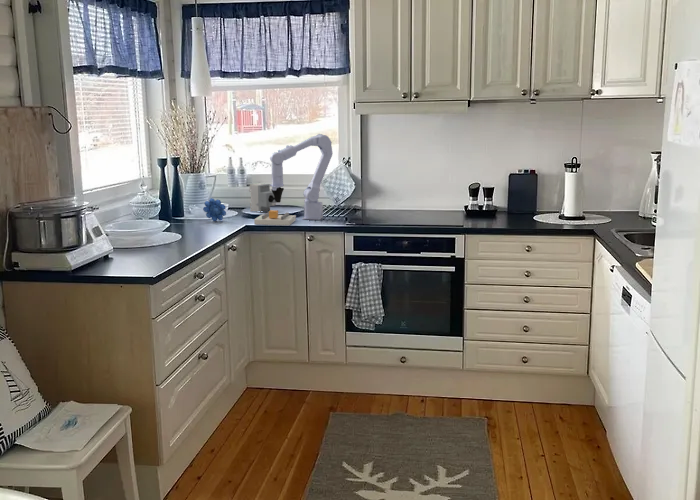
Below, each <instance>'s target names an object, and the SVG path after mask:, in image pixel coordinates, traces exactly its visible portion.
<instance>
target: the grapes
mask: <svg viewBox="0 0 700 500" xmlns="http://www.w3.org/2000/svg"><path fill="white" fill-rule="evenodd" d="M202 210H203V212H204V213H206V214H205V216H206V218H208V219H211V220H212V222H216V221H222V220H223V219H224V216H225V217H226V215H227V212H226V205H225V204H223V203H222V202H221V200H220V199H216V200H215V199H214V198H212V197H211V198H209V200H206V201H204V207H203V209H202Z"/></svg>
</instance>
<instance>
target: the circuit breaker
mask: <svg viewBox="0 0 700 500" xmlns="http://www.w3.org/2000/svg"><path fill="white" fill-rule="evenodd" d="M270 187H271V186H270V183H266V182H265V183H263V182H258V183H251V184H249V188H248V189H249V193H250V203H249V209H250V210H249V211H250V212H252V211H260V212H261V211H267V212H269V211H268V210H271V207H273V206H276V205H277V202H276V201H275V197H274V194H273V192H272V190H271V188H270Z"/></svg>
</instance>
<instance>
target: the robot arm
mask: <svg viewBox="0 0 700 500" xmlns="http://www.w3.org/2000/svg"><path fill="white" fill-rule="evenodd" d="M309 147H318V148H319V150H320V152H321V156H320V159H319V161H318V164H317V166H316V169H315V171H314V174H313V176H312V178H311V180H310V183H308V185H307V187H306V188H305V190H303V197H304V202H303V203H304V217H302V220H315V221H316V220H319V221H320V220H322V219H323V218H324V212H323V211H324V209H323V208H324V207H323V201H319V198H320V188H321V183H322V181H323V179H324V178H325V174H326V172H327V170H328V167H329V165H330V162H331V159H332V157H333V146H332V140H331V139H330V137H329V136H328V135H325V134H322V133H318V134H315V135H313V136H310V137H309V138H307V139H305V140H303V141H301V142H299V143H298V144H296V145H286V146H285V147H284V148H282V149H278V150H277V152H275V151H274V152H272V153H271V155H270V157H269V159H270V162H271V184H270V183H269V184H270V187H271V191H272V192H273V194H274V197H275V201H276V204H277V203H280V204H281V202H282V195H283V192H284V189H285V188H284V171H283V170H284V169H283V162H284V161H287V160H289V159H292V158H293V157H295V156H296V155H297V153H298V152H301V151H302V150H304V149H307V148H309Z"/></svg>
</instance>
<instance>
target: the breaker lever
mask: <svg viewBox="0 0 700 500" xmlns="http://www.w3.org/2000/svg"><path fill="white" fill-rule="evenodd" d="M268 212H269V218H278V215H279V210H273V209H270V211H268Z"/></svg>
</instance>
